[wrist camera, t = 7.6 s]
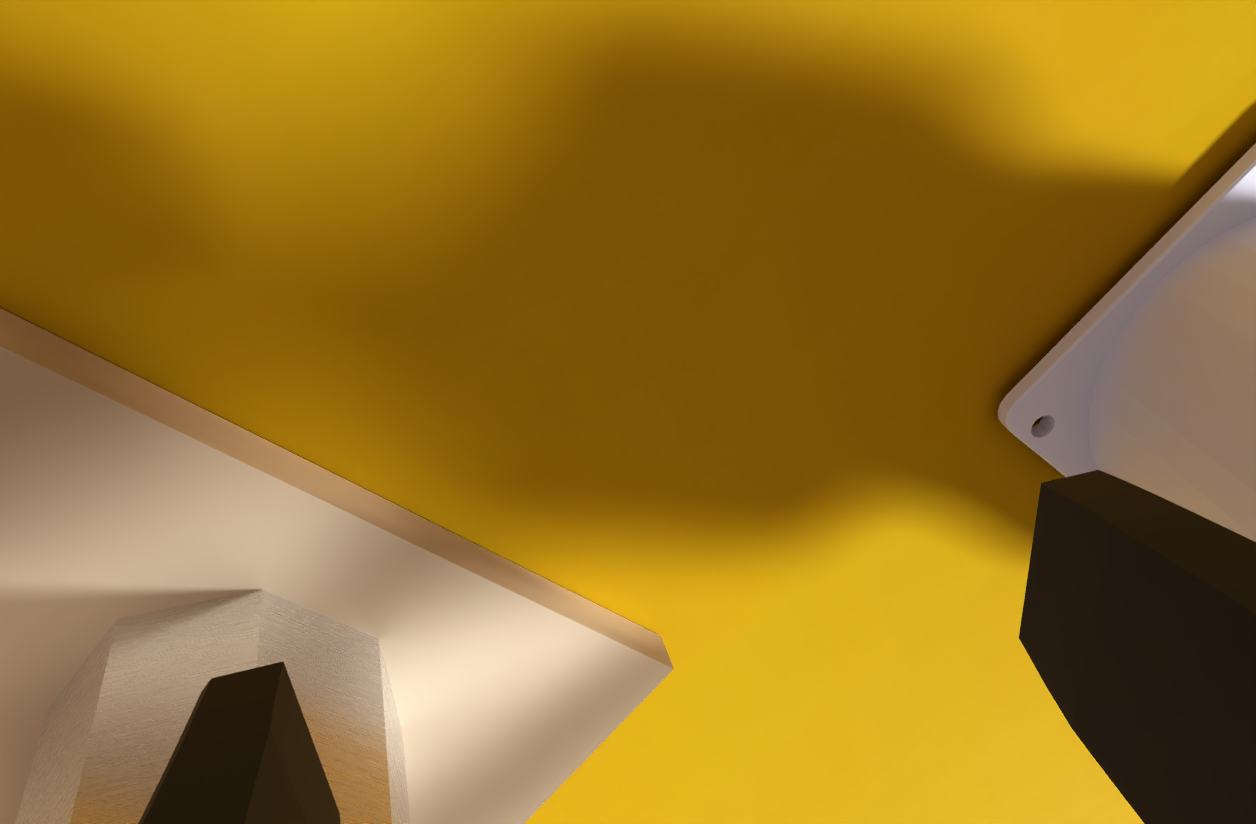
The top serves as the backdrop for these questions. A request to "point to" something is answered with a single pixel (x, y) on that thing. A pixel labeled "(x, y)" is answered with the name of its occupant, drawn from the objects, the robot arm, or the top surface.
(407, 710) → the board
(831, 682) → the top surface
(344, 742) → the collar
